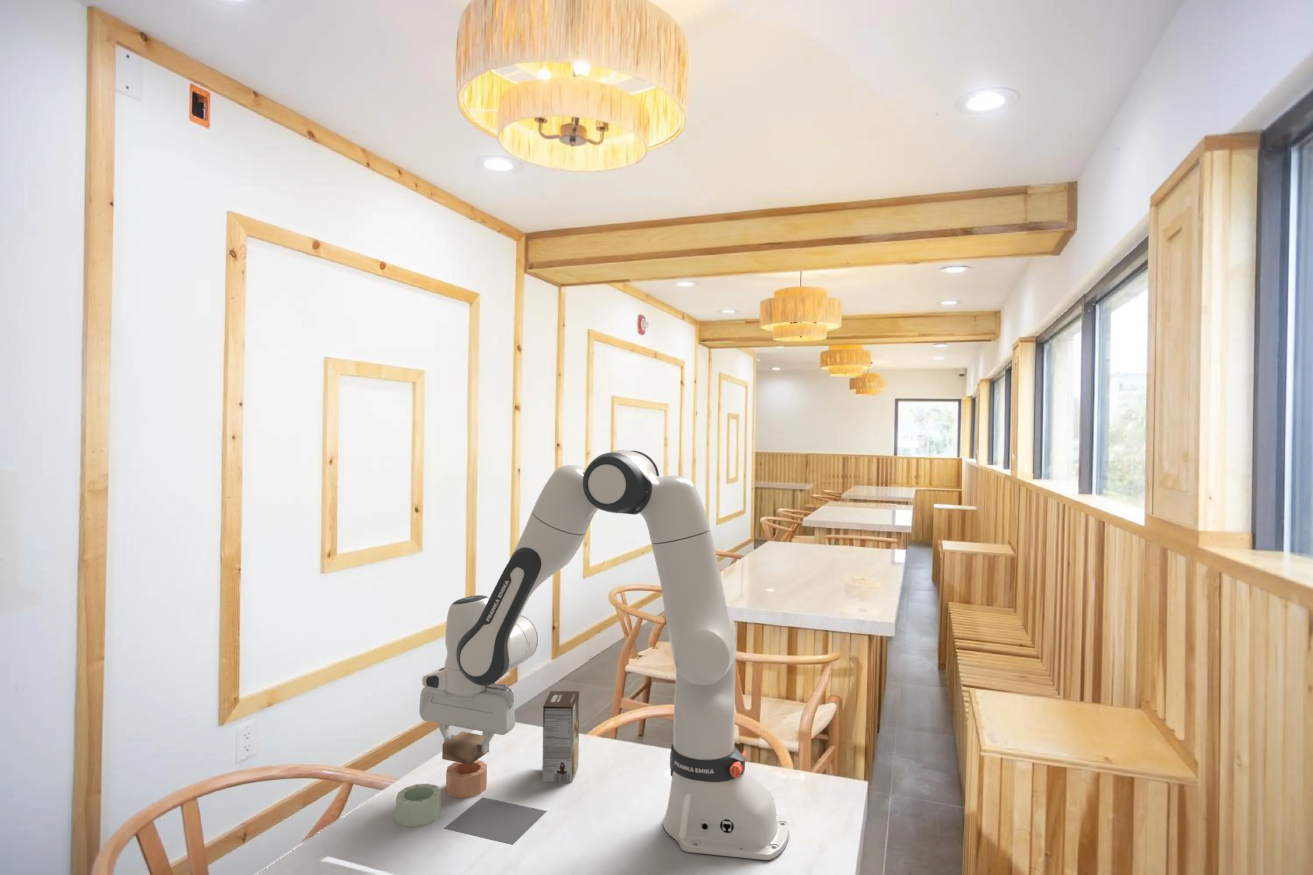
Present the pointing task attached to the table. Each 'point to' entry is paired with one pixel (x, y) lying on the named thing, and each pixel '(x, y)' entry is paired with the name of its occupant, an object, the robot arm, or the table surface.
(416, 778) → the table surface
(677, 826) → the robot arm
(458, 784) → the bowl terracotta
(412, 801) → the bowl sage
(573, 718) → the coffee box
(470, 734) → the cardboard box
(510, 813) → the mat
